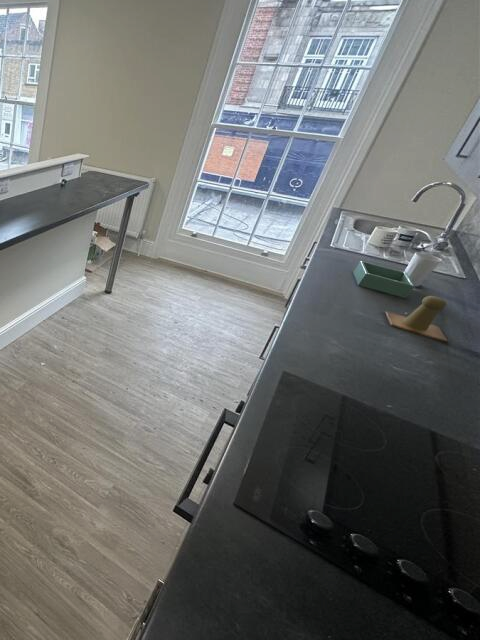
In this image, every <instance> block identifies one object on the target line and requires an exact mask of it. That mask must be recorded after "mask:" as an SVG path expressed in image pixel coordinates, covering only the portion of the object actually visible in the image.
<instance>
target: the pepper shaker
mask: <svg viewBox="0 0 480 640" xmlns="http://www.w3.org/2000/svg"><path fill="white" fill-rule="evenodd" d="M421 303H422V304H420V305H419V306H418V307H417V308H415V310H414V311H413V312H411V314H409V315H408V316H406V317H407V318H406V319H405V320H404V323H405V324H407V325H408V326H410V327H412V328H415V329H418V330H422V331H426V330H427V329H428V328H429V326H430V324H431V325H432V323H433V321H434V319H435V318H436V315H437V314H438V312H439V311H440V310H443V309H444V308H445V307H446V305H447V302H446V301H445V300H444V299H442V298H440V297H437V296H434V295H428V296H425V297H424V298H423V299H422V301H421Z"/></svg>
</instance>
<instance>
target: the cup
mask: <svg viewBox="0 0 480 640" xmlns="http://www.w3.org/2000/svg"><path fill="white" fill-rule="evenodd" d="M442 262H443V259H441V258H440V257H437V256H435V255H432V254H429V253H425V252H414V254H413V256H412V258H411V259H410V261H409V263H408V264H407V266H406V268H405V269H404V271H403V272H406V273H407V275H408V276H409V278H410V280H411V281H412V283H413V284H414V286H415V287H420V286H421V284H422V283H423V282H424V281H425V280H426V279H427V278H428V277H429V276H430V274H431V273H432V272H434V270H435V269H436V268H438V266H439V265H440V264H441V263H442Z"/></svg>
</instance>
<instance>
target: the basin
mask: <svg viewBox="0 0 480 640" xmlns="http://www.w3.org/2000/svg"><path fill="white" fill-rule="evenodd" d="M352 273H353V275H354V278H355V281H356V284H357V286H360V287H362V288H363V287H364V288H367V289H369V290H374V291H378V292H382V293H386V294H389V295H392V296H396V297H400V298H403V299H406V298H407V297H408V296H409V294H411V292H412V290H414V288H415V287H416V286H414V284H413V283H412V281H411V280H410V278H409V276H408V275H407V273H406V272H404V271H403V270H398V269H396V268H391V267H387V266H383V265H379V264H375V263H371V262H368V261H363V260H359V263H358V264H357V265H356V267H355V268H354V270H353V272H352Z"/></svg>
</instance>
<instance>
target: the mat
mask: <svg viewBox="0 0 480 640" xmlns="http://www.w3.org/2000/svg"><path fill="white" fill-rule="evenodd" d="M384 313H385V315H386V318H387V321H388V322H389V324H390V326H392V327H395V328H398V329H401V330H405V331H407V332H411V333H415V334H418V335H421V336H425V337H428V338H431V339H435V340H436V341H437V340H438V341H441V342H444V343H447V342H448V339H447V338H446V335H444V333H443V331H442V330H441V328H440V326H438V325H434V324H432V323H431V324H430V326H429V328H428V329H427V330H426V331H422V330H418V329H415V328H412V327H410V326H408V325H407V324H405V323H404V320H405V319H406V318H407V317H408V316H404V315H401V314H396V313H393V312H390V311H385V312H384Z"/></svg>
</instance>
